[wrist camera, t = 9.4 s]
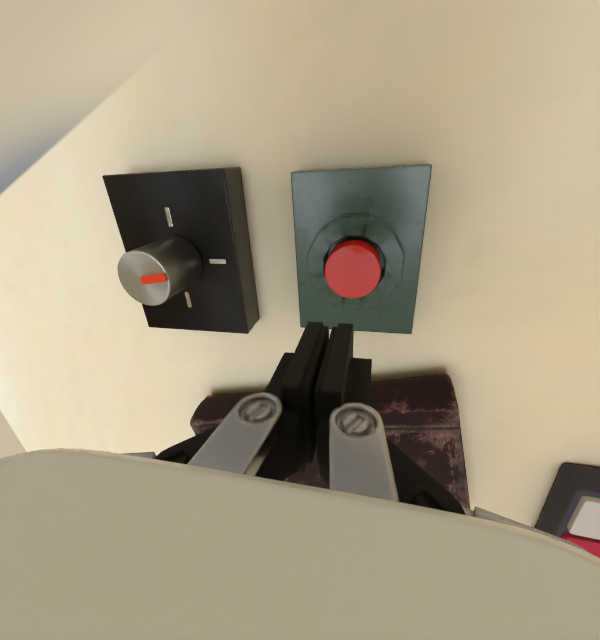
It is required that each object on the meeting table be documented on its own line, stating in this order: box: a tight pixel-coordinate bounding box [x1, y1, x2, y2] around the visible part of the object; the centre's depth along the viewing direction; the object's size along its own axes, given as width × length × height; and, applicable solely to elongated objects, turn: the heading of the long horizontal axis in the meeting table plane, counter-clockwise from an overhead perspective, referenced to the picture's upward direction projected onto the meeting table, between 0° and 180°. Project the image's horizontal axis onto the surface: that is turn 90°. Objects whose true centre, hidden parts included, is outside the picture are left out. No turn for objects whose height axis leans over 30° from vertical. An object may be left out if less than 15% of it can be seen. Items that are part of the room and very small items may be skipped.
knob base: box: [103, 167, 259, 334], centre depth 27 cm, size 13×10×3 cm
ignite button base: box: [291, 164, 432, 334], centre depth 23 cm, size 12×9×4 cm
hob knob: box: [118, 236, 202, 306], centre depth 23 cm, size 4×4×5 cm
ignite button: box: [325, 239, 381, 298], centre depth 21 cm, size 4×4×2 cm
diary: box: [190, 374, 470, 509], centre depth 33 cm, size 19×25×5 cm
